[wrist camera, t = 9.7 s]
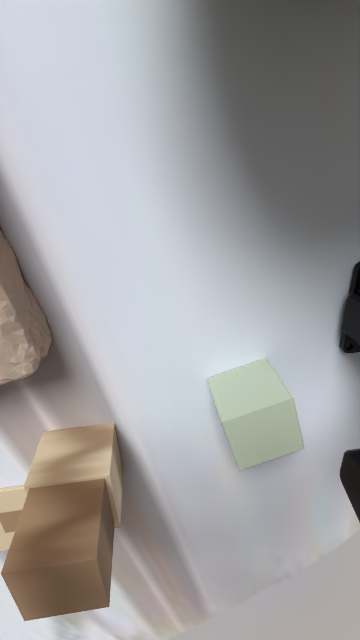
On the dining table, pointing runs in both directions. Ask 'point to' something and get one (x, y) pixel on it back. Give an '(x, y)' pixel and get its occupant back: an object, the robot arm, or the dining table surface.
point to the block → (256, 413)
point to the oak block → (80, 461)
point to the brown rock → (19, 321)
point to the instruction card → (10, 513)
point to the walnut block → (62, 550)
